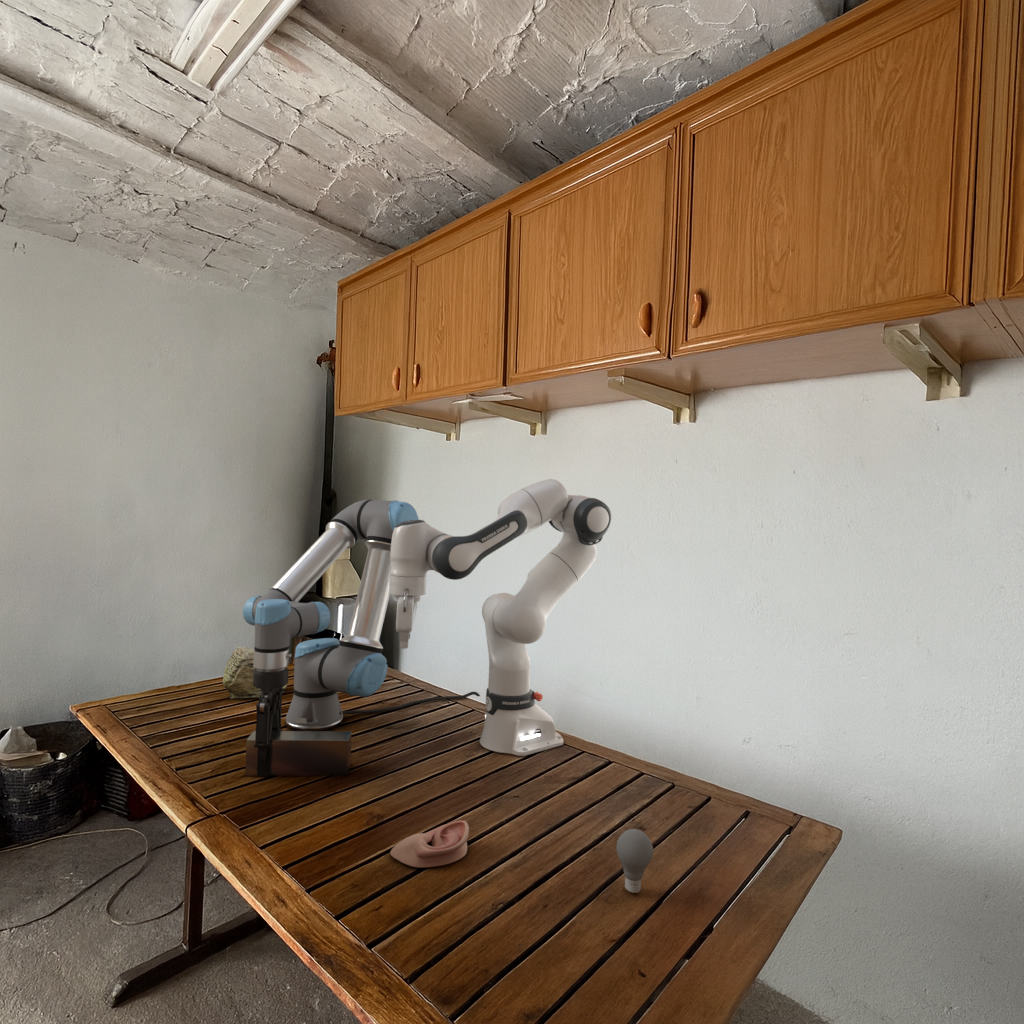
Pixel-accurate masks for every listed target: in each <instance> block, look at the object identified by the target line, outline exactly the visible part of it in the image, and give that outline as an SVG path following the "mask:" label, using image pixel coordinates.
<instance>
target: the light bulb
mask: <svg viewBox="0 0 1024 1024" xmlns="http://www.w3.org/2000/svg"><path fill="white" fill-rule="evenodd" d="M615 849H616V854H617V857H618V859H619V861H620V863H621V865H622V867H623V873H624V874H623V875H624V876H625V878H624V888H625V890H627V891H628V892H630V893H634V894H635V893H639V892H640V891H641V889H642V887H641V886H642V879H643V877H644V875H645V871H646V868H647V867H648V866H649V864H650V863H651V861H652V859H653V855H654V847H653V843H652V841H651V838H649V836H648V835H647V834H646V833H645V832H643V831H642V830H641V829H636V828H629V829H627V830H625V831H623V832H622V833H621V834H620V835H619V837H618V839H617V841H616V847H615Z"/></svg>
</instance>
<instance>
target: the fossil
mask: <svg viewBox="0 0 1024 1024" xmlns="http://www.w3.org/2000/svg"><path fill="white" fill-rule="evenodd" d="M253 665H254V648H251V647H247V646H246V647H245V646H238V647H237V648H236V649H235V650H233V651H232V653H231V656H230V657H229V659H228V660H227V663H226V666H225V668H224V671H223V675H222V676H223V677H222V685H223V687H224V688H225V690H226V691H228V693H229V698H230V699H250V698H259V696H260V695H261V692H262V690H261V689H260V688H256V687H255V686H254V685H253V671H254V670H255V669H256V668H254V667H253ZM287 685H288V684H286V685H285V686H283V691H282V694H284V693H285V691H286V689H287V687H288V686H287Z"/></svg>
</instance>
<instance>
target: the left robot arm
mask: <svg viewBox="0 0 1024 1024" xmlns="http://www.w3.org/2000/svg"><path fill="white" fill-rule="evenodd" d="M409 520H420V518H419V515H418V513H417V510H416V509H415V507H414V506H413V505H412V504H411V503H409V502H406V501H399V500H381V499H362V500H358V501H356V502H354V503H352V504H350V505H348V506H347V507H345V508H343V510H341V511H340V512H338V513H337V514H336V515H335V516H334V517H333V518H332V519H330V520H329V521H328V523H327V524H326V525H325V531H324V532H323V533H322V534H321V535H320V536H319V537H318V539H316V540H315V541H314V542H313V544H311V546H310V547H309V548H308V549H307V550H306V551H305V552H304V553H303V554H302V555H301V556H300V557H299V558H298V559H297V560H296V561H295V562H294V563H293V564H292V565H291V566H290V567H289V568H288V570H287V571H286V572H285V573H284V574H283V575H282V576H281V577H280V578H279V579H278V580H277V581H276V582H275V583H274V584H273V585H272V586H271V588H270V589H268V590H267V591H266V592H265V594H263V595H255V596H252V597H249V598H248V599H247V601H246V602H245V603H244V605H243V608H242V616H243V619H244V621H245V622H246V623H247V624H248V625H251V626H253V627H254V648H253V649H254V665H253V667H254V668H256V669H255V670H254V671H253V685H254V686H255V687H256V688H260V689H261V690H262V692H261V695H260V696H259V697H258V702H257V703H256V704H255V709H256V718H255V719H256V720H255V731H256V738H255V744H254V747H258V760H257V775H270V769H271V745H270V739H271V731H284V730H283V729H281V728H282V714H283V713H282V712H283V711H282V709H283V693H282V691H283V686H285V685H288V683H289V667H288V666H289V662H290V660H289V659H290V658H292V653H289V652H290V645H291V639H294V638H299V637H305V636H308V635H315V634H317V633H320V632H323V631H325V630H327V628H328V627H329V625H330V623H331V612H330V609H329V607H328V606H327V604H325V603H324V602H321V601H310V602H300V601H301V599H302V598H303V597H304V596H305V595H306V594H307V593H308V592H309V590H310V589H311V588H312V587H313V586H314V585H315V584H316V583H317V581H319V580H320V578H321V577H322V576H323V575H324V574H325V573H326V572H327V571H328V569H329V568H330V567H331V566H332V565H333V564H334V563H335V562H336V561H337V560H338V558H339V557H340V556H341V555H342V554H343V553H344V552H345V550H346V549H351V548H353V547H354V546H355V545H356V544H357V543H358V542H361V541H364V544H365V546H366V547H367V550H368V551H367V555H366V558H365V563H364V567H363V571H362V574H361V577H360V583H359V587H358V590H357V595H356V599H355V603H354V608H353V612H352V616H351V620H350V624H349V628H348V632H347V634H346V635H345V636H344V637H342V638H341V639H340V640H339V639H338V638H335V637H324V638H323V637H322V638H313V639H308V640H304V641H302V642H299V643H298V644H297V645H296V647H295V652H294V653H295V654H294V657H293V658H294V660H293V662H294V663H293V665H294V666H293V695H292V696H293V697H292V699H291V702H290V704H289V708H288V711H287V713H286V715H285V726H286V728H287V729H289V730H291V731H330V730H332V729H335V728H337V727H339V726H340V725H342V723H343V722H344V715H355V714H356V715H358V714H360V715H362V714H375V713H383V712H389V711H395V710H400V709H404V708H406V707H409V706H413V705H418V704H422V703H427V702H434V701H442V700H443V701H444V700H459V699H461V700H462V699H465V698H468V697H470V696H472V695H473V696H474V695H475V696H476V697H481V695H480V693H478V692H477V691H470V692H467V693H465V694H462V695H450V696H436V697H428V698H422V699H417V700H413V701H408V702H406V703H403V704H399V705H394V706H389V707H383V708H375V709H374V708H373V709H359V710H357V709H356V710H343V709H342V706H341V702H340V699H339V695H338V693H342V694H346V695H349V696H350V697H361V698H364V697H365V698H367V697H370V696H372V695H373V694H375V693H376V692H377V691H378V690H380V688H381V687H382V685H383V684H384V682H385V679H386V677H387V674H388V669H389V668H388V664H387V662H388V661H387V658H386V657H385V655H383V650H384V647H383V645H382V643H381V642H380V638H381V634H382V630H383V626H384V625H383V624H384V622H385V617H386V613H387V608H388V605H389V599H390V595H391V594H389V579H390V570H391V567H392V561H391V557H390V554H391V541H392V534H393V530H394V528H395V526H396V525H397V524H399V523H401V522H404V521H409Z"/></svg>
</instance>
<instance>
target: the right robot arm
mask: <svg viewBox="0 0 1024 1024" xmlns="http://www.w3.org/2000/svg"><path fill="white" fill-rule="evenodd" d="M611 522H612V511H611V509H610V507H609V506H608V505H607V504H606V503H605V502H603V501H602V500H600V499H598V498H595V497H589V496H586V495H579V494H578V495H577V494H574V495H573V494H568V491H567V489H566V487H565V486H564V485H563V484H562V483H561V482H560V481H558V480H557V479H552V478H548V479H544V480H541V481H538V482H534V483H531V484H530V485H527V486H525V487H522V488H520V489H518V490H516V491H515V492H513V493H512V494H510V495H508V496H507V497H506V498H504V499H503V500H502V501H501V502H500V503H499V506H498V508H497V518H495V519H494V521H492V522H489V523H488V524H487V525H484V526H483V527H481V528H479V529H478V530H476V531H474V532H473V533H471V534H468V535H462V536H461V535H460V536H457V535H455V536H454V535H451V534H448V533H445V532H443V531H440V530H438V529H436V528H434V527H433V526H431V525H430V524H428V523H427V522H426V521H425V520H423V519H419V520H409V521H404V522H401V523H399V524H397V525H396V526H395V528H394V530H393V534H392V541H391V554H390V557H391V561H392V567H391V570H390V579H389V594H390V595H392V596H393V601H395V602H397V603H396V616H395V617H396V619H395V630H396V632H397V633H399V639H400V640H399V643H400V645H399V648H400V649H402V650H403V649H405V650H406V649H408V648H409V640H410V639H411V633H412V631H413V627H414V623H415V618H416V613H417V608H418V602H420V601H421V596H425V595H426V594H427V593H426V591H427V589H426V588H427V573H428V572H429V571H434V572H436V573H437V574H440V576H442V577H444V578H446V579H448V580H453V581H457V580H462V579H464V578H467V577H468V576H469V575H470V574H472V573H473V571H474V570H475V569H476V568H477V566H478V565H479V564H480V563H481V562H482V561H483V560H484V558H486V557H488V556H489V555H491V554H493V553H494V552H496V551H497V550H499V549H500V548H503V547H504V546H506V545H507V544H509V543H510V542H512V541H514V540H515V539H517V538H520V537H521V536H524V535H526V534H528V533H530V532H532V531H535V530H536V529H538V528H540V527H543V526H544V525H546V524H547V523H549V525H550V526H551V527H552V528H553V529H554V530H556V531H558V532H560V533H562V537H561V538H560V541H559V542H558V544H557V545H556V546H554V548H552V549H551V550H550V551H549V552H548V553H547V554H546V555H545V556H544V557H543V558H542V559H541V560H540V561H539V562H537V564H535V566H533V568H531V570H530V571H528V574H527V576H526V580H525V582H524V583H523V585H522V587H521V588H520V590H519V591H518V592H517V593H516V594H514V595H513V594H511V593H508V592H498V593H494V594H491V595H490V596H488V597H487V598H486V599H485V600H484V602H483V604H482V606H481V615H482V619H483V623H484V627H485V637H486V645H487V654H488V678H487V679H488V680H487V683H488V684H487V688H486V692H485V714H484V724H483V728H482V732H481V736H480V737H479V745H480V746H481V747H482V748H485V749H487V750H489V751H492V752H496V753H501V754H509V755H514V756H519V757H525V756H528V755H533V754H536V753H539V752H543V751H547V750H550V749H554V748H557V747H561V746H563V745H564V743H565V741H564V738H563V736H562V735H561V734H560V733H559V732H557V731H556V725H555V721H554V719H553V717H552V716H551V715H550V714H549V713H548V712H546V711H545V710H544V709H543V708H541V707H540V706H539V705H538V704H537V703H536V701H537V702H541V701H542V700H543V698H544V695H543V694H542V693H540V692H538V691H534V690H532V689H531V671H532V670H531V669H532V668H531V667H532V661H531V658H530V655H529V652H528V647H527V645H529V644H534V643H536V642H538V640H539V639H540V638H541V637H542V636H544V635H543V634H544V633H545V631H546V624H547V620H548V618H549V617H550V615H551V613H552V612H553V610H554V608H555V607H556V606H557V604H558V603H559V602H560V601H561V599H562V598H563V597H564V596H566V594H567V593H568V592H569V591H570V590H571V589H572V588H573V587H574V586H576V584H577V583H578V582H579V581H580V580H581V579H582V578H583V577H584V576H585V574H586V573H587V572H588V571H589V570H590V568H591V566H592V565H593V563H594V562H595V561H596V559H597V557H598V550H597V547H596V545H597V544H599V543H600V542H601V541H602V540H603V537H604V536H605V534H606V533H607V532H608V530H609V528H610V526H611Z"/></svg>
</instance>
